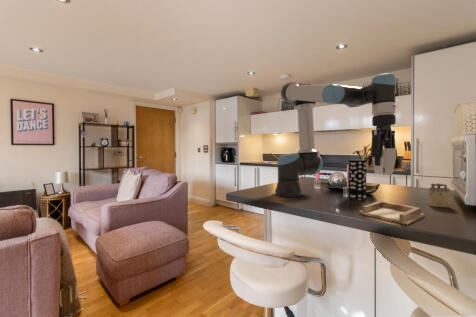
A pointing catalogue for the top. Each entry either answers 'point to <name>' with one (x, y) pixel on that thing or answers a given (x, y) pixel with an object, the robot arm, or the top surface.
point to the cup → (388, 160)
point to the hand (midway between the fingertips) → (383, 173)
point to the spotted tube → (357, 179)
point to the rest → (392, 212)
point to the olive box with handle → (439, 196)
